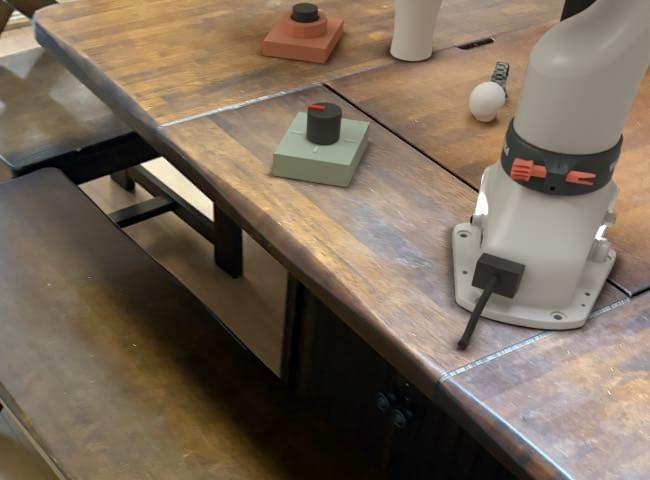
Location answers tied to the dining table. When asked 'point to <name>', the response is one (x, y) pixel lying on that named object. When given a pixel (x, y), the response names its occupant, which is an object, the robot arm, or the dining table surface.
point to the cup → (414, 28)
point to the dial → (323, 123)
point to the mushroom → (486, 101)
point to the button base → (303, 38)
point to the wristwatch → (501, 74)
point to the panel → (321, 153)
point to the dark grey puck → (305, 13)
